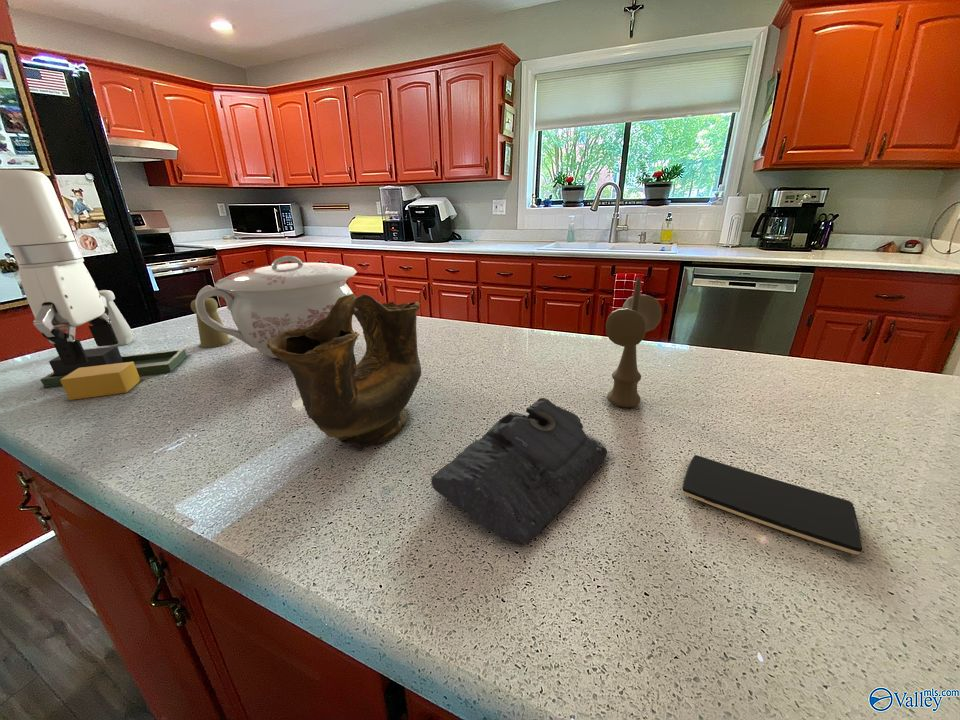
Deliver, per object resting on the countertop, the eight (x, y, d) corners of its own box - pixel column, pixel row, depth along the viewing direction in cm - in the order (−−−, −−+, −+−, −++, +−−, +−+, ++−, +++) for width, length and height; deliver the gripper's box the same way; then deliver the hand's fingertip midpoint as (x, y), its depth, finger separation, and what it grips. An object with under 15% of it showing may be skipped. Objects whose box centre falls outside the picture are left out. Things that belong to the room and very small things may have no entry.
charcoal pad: (57, 380, 76) (48, 361, 75) (75, 369, 81) (66, 351, 79) (110, 373, 78) (102, 355, 77) (124, 363, 83) (117, 346, 82)
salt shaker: (113, 340, 99) (92, 289, 94) (140, 338, 101) (121, 287, 96) (100, 348, 94) (77, 294, 89) (129, 345, 96) (108, 292, 91)
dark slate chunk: (411, 491, 45) (407, 457, 44) (518, 413, 61) (518, 385, 59) (523, 560, 36) (524, 521, 35) (615, 448, 52) (618, 416, 50)
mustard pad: (69, 400, 69) (59, 379, 68) (87, 387, 74) (78, 367, 73) (127, 392, 71) (118, 372, 70) (141, 380, 76) (133, 361, 75)
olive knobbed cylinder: (197, 348, 92) (182, 302, 88) (206, 340, 97) (192, 296, 93) (225, 345, 93) (212, 300, 89) (233, 337, 99) (221, 294, 95)
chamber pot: (383, 329, 101) (372, 246, 93) (336, 374, 76) (316, 266, 68) (280, 329, 104) (261, 248, 96) (203, 372, 79) (168, 267, 71)
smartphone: (692, 453, 48) (855, 501, 40) (691, 461, 49) (851, 510, 41) (680, 487, 43) (865, 551, 35) (678, 495, 43) (861, 561, 35)
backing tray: (44, 387, 74) (39, 379, 74) (73, 369, 82) (70, 361, 82) (170, 371, 80) (168, 364, 79) (187, 356, 88) (184, 349, 87)
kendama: (650, 394, 65) (669, 273, 58) (634, 420, 58) (653, 285, 50) (613, 386, 69) (627, 270, 61) (594, 409, 61) (606, 281, 54)
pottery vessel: (348, 490, 46) (316, 327, 38) (276, 471, 49) (234, 318, 42) (441, 394, 67) (433, 278, 60) (387, 386, 71) (372, 275, 63)
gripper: (55, 251, 70) (95, 341, 77) (-27, 264, 55) (32, 376, 61) (106, 247, 72) (141, 336, 79) (40, 260, 57) (91, 368, 63)
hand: (93, 353), depth 70 cm, fingers open, 9 cm apart
